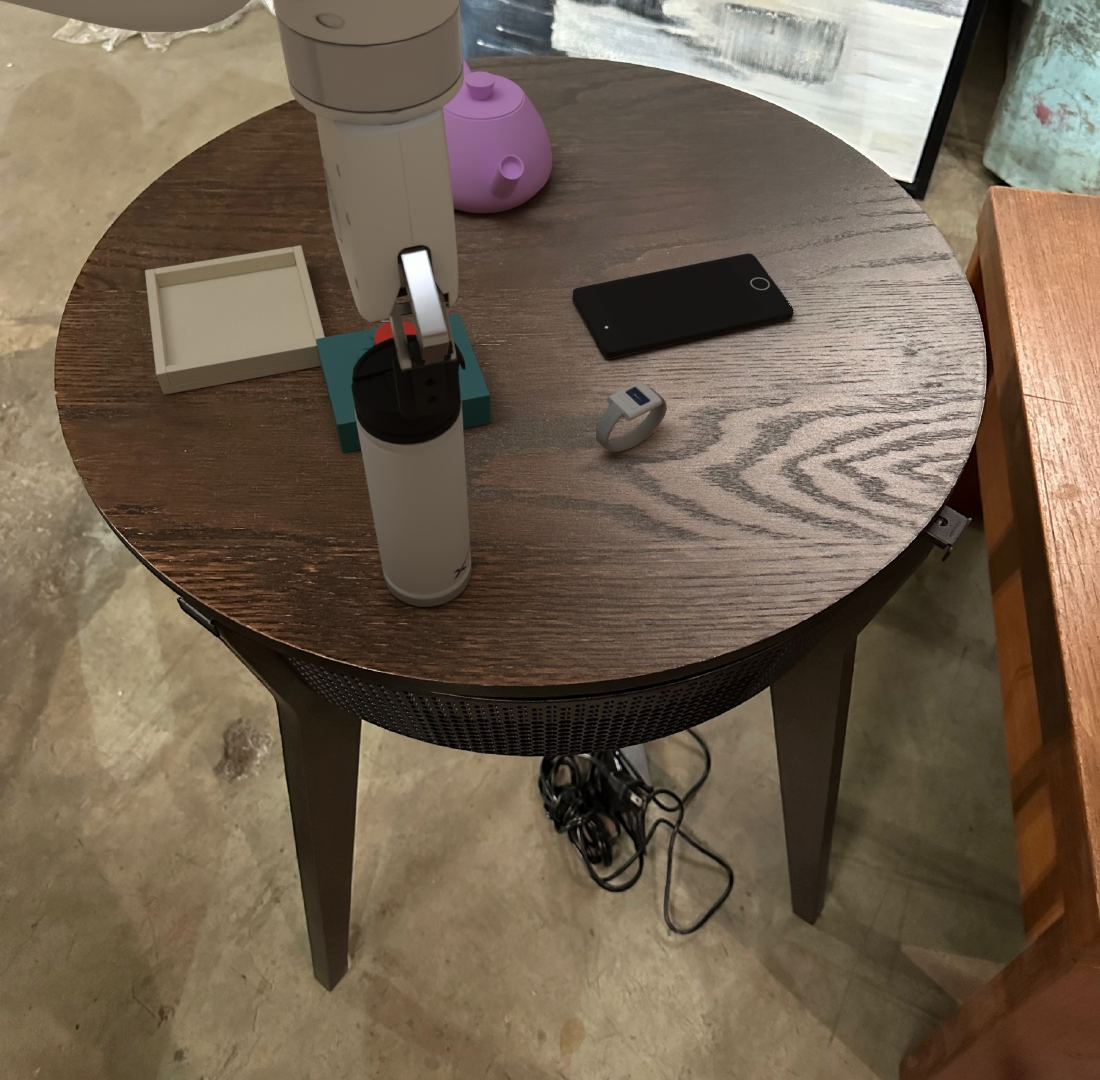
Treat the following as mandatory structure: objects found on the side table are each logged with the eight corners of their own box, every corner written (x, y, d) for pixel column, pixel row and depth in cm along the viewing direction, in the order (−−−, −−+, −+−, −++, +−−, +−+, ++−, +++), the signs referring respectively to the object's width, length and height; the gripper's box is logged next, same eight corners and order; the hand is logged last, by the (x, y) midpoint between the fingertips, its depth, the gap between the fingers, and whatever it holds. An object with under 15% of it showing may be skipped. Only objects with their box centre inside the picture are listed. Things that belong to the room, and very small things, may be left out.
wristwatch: (609, 470, 80) (614, 425, 76) (587, 448, 81) (591, 403, 77) (669, 437, 82) (677, 391, 78) (647, 416, 84) (654, 371, 80)
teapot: (446, 256, 95) (439, 152, 87) (393, 141, 107) (382, 40, 98) (585, 230, 99) (591, 127, 90) (519, 121, 110) (519, 20, 101)
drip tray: (163, 395, 84) (155, 374, 82) (152, 290, 91) (144, 269, 90) (330, 364, 86) (326, 343, 84) (305, 265, 94) (301, 244, 92)
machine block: (342, 453, 80) (333, 407, 76) (321, 367, 86) (312, 321, 82) (491, 423, 83) (489, 377, 79) (460, 342, 88) (458, 296, 84)
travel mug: (488, 592, 73) (480, 386, 57) (398, 619, 71) (364, 416, 55) (460, 526, 76) (445, 315, 60) (373, 551, 74) (334, 341, 59)
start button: (381, 372, 79) (379, 355, 78) (372, 341, 81) (370, 324, 80) (427, 363, 80) (425, 346, 79) (417, 333, 82) (415, 316, 81)
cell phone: (794, 319, 91) (796, 311, 90) (605, 361, 87) (605, 353, 86) (750, 259, 96) (752, 251, 95) (570, 296, 92) (570, 288, 91)
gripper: (257, -35, 48) (317, 266, 61) (318, 173, 38) (374, 478, 51) (415, -54, 49) (440, 245, 63) (514, 142, 39) (518, 447, 53)
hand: (410, 349), depth 57 cm, fingers open, 9 cm apart
